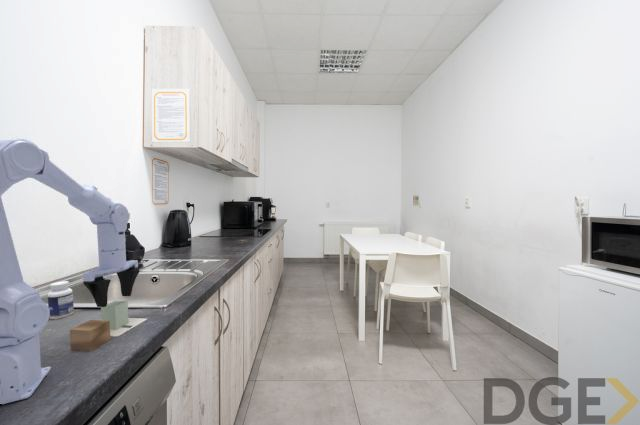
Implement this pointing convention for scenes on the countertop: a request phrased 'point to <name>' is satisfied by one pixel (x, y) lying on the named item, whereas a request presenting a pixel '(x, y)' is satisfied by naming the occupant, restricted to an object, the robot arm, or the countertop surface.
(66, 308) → the pill bottle
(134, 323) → the letter card
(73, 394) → the countertop surface
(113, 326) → the sage pillar
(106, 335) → the walnut block
